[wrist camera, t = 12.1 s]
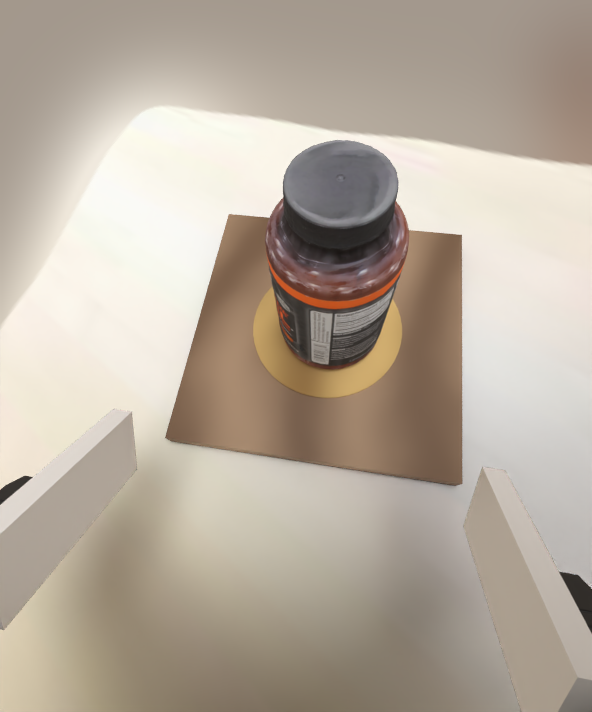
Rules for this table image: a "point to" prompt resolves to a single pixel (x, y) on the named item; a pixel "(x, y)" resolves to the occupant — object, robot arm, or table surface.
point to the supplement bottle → (336, 251)
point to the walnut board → (329, 370)
